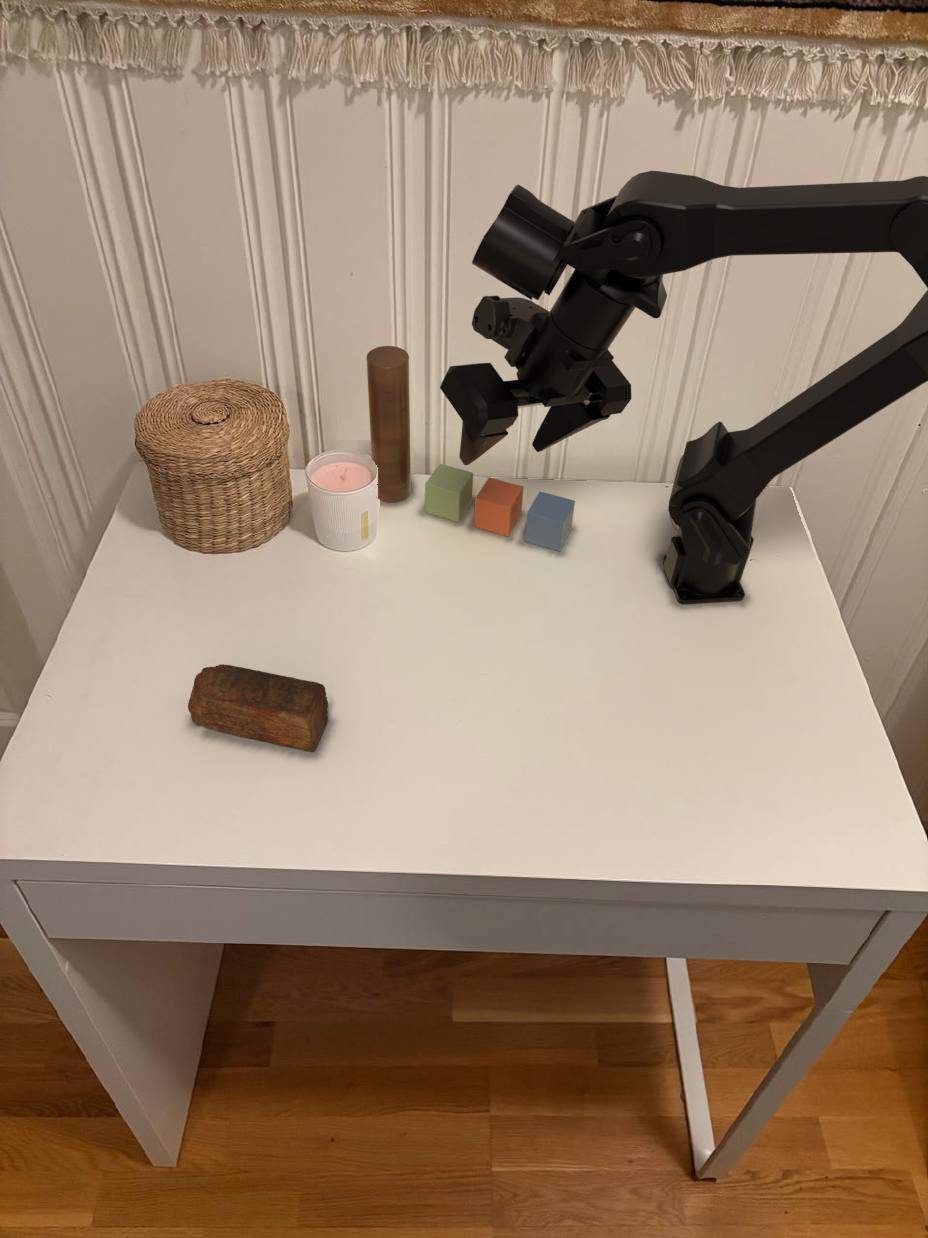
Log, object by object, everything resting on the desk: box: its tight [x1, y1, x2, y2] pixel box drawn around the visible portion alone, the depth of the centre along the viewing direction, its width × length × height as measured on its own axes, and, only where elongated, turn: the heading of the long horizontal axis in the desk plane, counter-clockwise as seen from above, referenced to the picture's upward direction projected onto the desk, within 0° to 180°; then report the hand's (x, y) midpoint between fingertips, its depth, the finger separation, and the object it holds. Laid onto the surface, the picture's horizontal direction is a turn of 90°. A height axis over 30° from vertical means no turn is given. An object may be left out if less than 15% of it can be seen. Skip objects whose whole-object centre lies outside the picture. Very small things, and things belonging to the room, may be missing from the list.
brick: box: [187, 663, 329, 752], centre depth 75 cm, size 11×4×5 cm, turn 76°
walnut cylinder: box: [366, 345, 412, 504], centre depth 93 cm, size 4×4×16 cm
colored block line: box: [424, 463, 576, 552], centre depth 95 cm, size 15×4×4 cm, turn 67°
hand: (500, 454), depth 88 cm, fingers open, 9 cm apart
